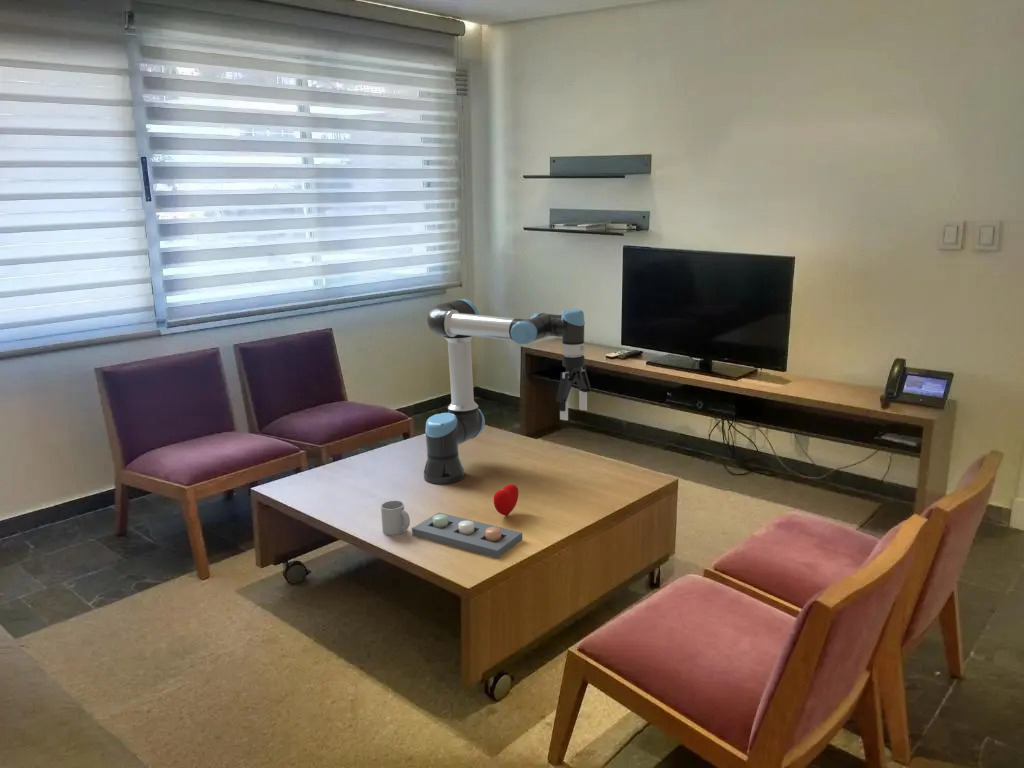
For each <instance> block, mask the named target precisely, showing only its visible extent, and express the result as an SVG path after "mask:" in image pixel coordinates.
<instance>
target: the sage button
mask: <svg viewBox="0 0 1024 768" xmlns="http://www.w3.org/2000/svg"><path fill="white" fill-rule="evenodd" d="M444 514H445V513H444ZM444 514H438V515H435V514H434V515H435V516H434V515H432V516H433V527H435V528H439V529H444V528H446V527H447V526H448V516H447V515H444Z"/></svg>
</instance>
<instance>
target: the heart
mask: <svg viewBox="0 0 1024 768" xmlns="http://www.w3.org/2000/svg"><path fill="white" fill-rule="evenodd" d="M518 499H519V488H518V486H517V485H516V484H514V483H510V484H507V485H505V486H504V487H503V489H498V491H496V492H495V493H494V495H493V500H492V501H493V506H494V509H495V511H496V512H497V513H499V514H500V515H502V516H505V517H508V516H509V515H510V514H511V512H512V511H513V510H514V508H516V505H517V503H518Z"/></svg>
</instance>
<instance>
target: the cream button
mask: <svg viewBox="0 0 1024 768" xmlns="http://www.w3.org/2000/svg"><path fill="white" fill-rule="evenodd" d="M468 520H469V519H468ZM468 520H467V521H461V522H459V524H458V526H459V534H462V535H466V536H470V535H471V534H473V533H474V522H472V521H473V520H472V521H468Z"/></svg>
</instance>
